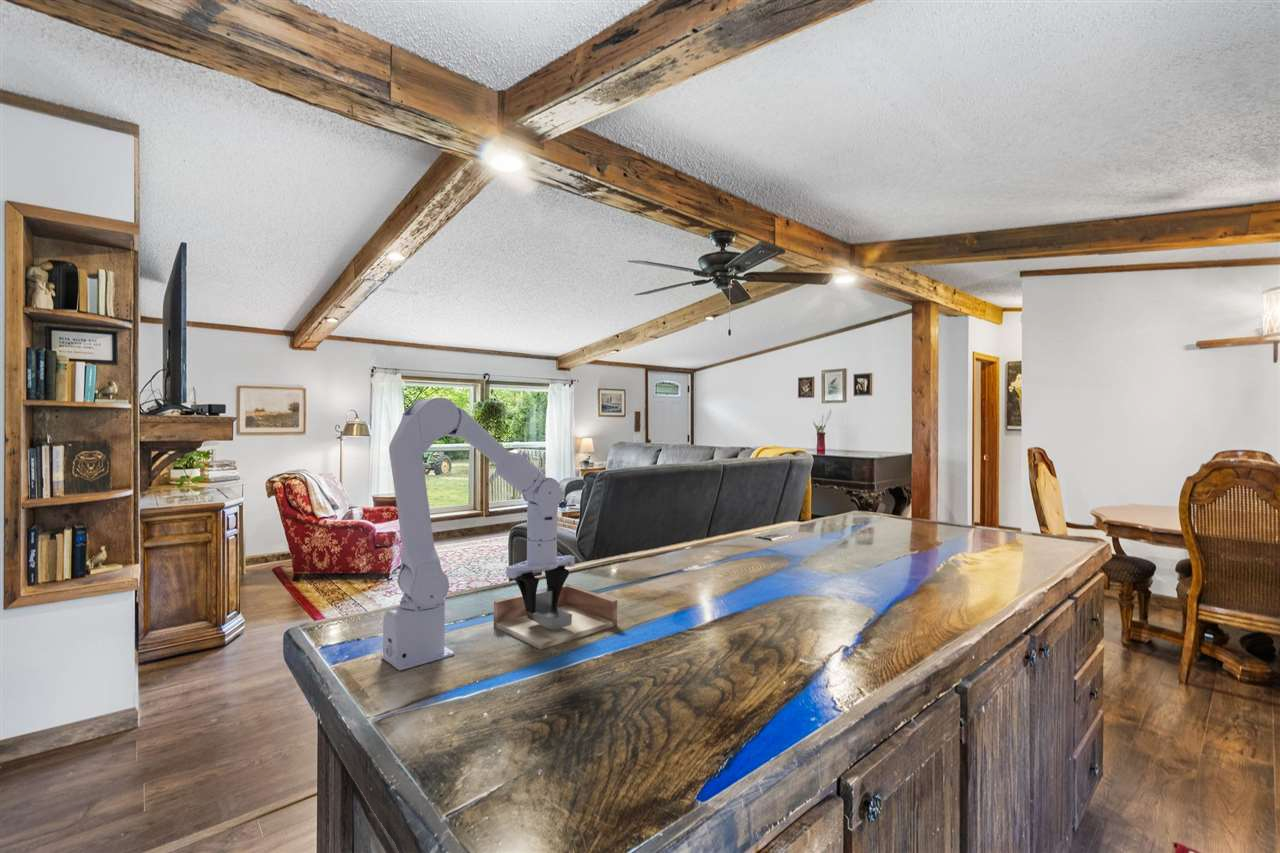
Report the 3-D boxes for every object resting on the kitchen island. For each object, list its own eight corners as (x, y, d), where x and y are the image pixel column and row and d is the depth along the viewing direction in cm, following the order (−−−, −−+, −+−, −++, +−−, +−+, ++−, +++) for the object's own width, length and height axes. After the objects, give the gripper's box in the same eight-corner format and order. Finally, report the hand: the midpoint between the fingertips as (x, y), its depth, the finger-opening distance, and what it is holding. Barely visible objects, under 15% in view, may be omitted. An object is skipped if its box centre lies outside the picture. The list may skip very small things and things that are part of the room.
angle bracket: (527, 617, 111) (528, 591, 111) (546, 612, 114) (547, 587, 114) (551, 630, 106) (552, 603, 105) (571, 624, 109) (572, 598, 109)
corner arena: (540, 649, 102) (541, 621, 102) (493, 626, 113) (493, 601, 113) (617, 625, 114) (617, 600, 114) (567, 607, 126) (567, 584, 126)
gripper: (521, 546, 104) (520, 622, 104) (584, 536, 114) (583, 605, 114) (500, 541, 109) (500, 613, 109) (562, 531, 119) (562, 597, 119)
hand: (541, 608), depth 112 cm, fingers closed on angle bracket, 4 cm apart
